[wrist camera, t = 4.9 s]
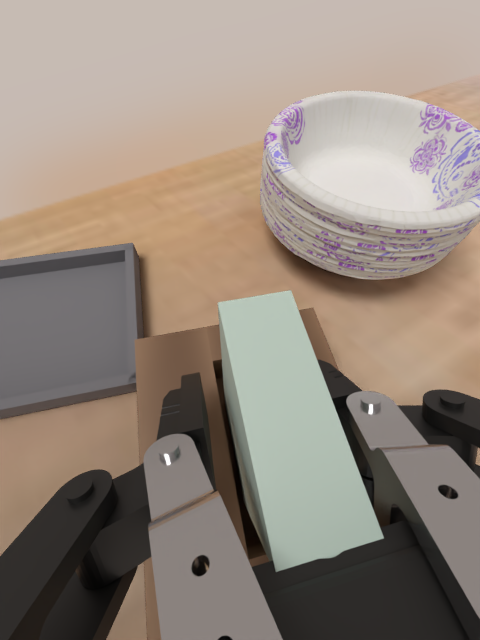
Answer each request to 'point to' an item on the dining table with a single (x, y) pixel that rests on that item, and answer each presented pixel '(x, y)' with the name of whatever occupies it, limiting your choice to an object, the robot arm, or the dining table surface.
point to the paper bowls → (370, 182)
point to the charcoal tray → (68, 327)
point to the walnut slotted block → (164, 375)
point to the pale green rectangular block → (289, 436)
